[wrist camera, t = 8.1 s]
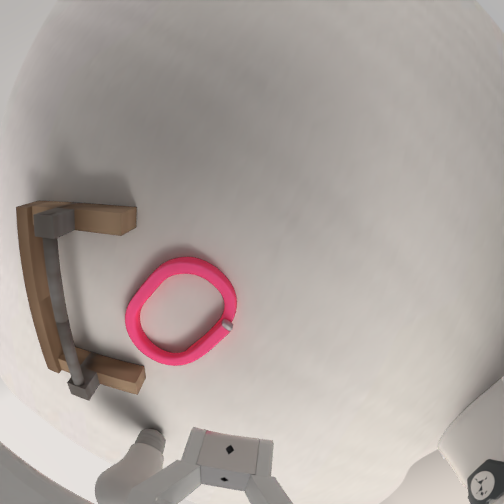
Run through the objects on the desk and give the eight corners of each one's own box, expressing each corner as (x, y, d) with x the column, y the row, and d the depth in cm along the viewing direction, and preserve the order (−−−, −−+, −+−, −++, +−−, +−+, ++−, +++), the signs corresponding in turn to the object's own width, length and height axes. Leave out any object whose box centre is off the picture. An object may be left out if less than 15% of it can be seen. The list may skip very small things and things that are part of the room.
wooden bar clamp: (136, 207, 15) (102, 221, 11) (145, 377, 19) (128, 413, 15) (39, 200, 15) (0, 211, 11) (62, 352, 19) (39, 379, 15)
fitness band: (179, 367, 19) (174, 381, 18) (117, 317, 18) (108, 327, 17) (257, 299, 17) (256, 311, 16) (184, 235, 16) (176, 241, 15)
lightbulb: (114, 408, 21) (70, 499, 10) (172, 411, 20) (138, 522, 10) (141, 445, 23) (112, 527, 12) (195, 449, 22) (175, 543, 11)
